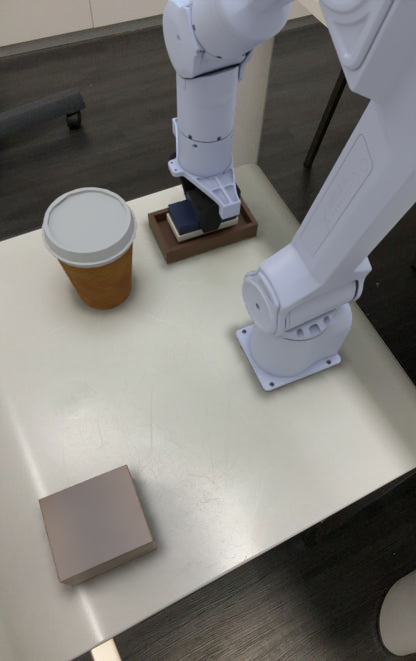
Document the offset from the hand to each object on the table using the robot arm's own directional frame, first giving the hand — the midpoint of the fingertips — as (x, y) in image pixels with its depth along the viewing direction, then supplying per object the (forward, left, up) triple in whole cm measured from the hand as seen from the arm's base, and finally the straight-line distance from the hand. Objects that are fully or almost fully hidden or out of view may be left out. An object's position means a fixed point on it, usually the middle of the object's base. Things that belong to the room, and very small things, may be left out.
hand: (202, 216), depth 64 cm
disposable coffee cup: (+14, +4, -3) cm, 15 cm away
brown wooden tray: (0, 0, -3) cm, 3 cm away
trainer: (0, 0, -1) cm, 1 cm away
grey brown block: (+22, +30, -3) cm, 37 cm away
